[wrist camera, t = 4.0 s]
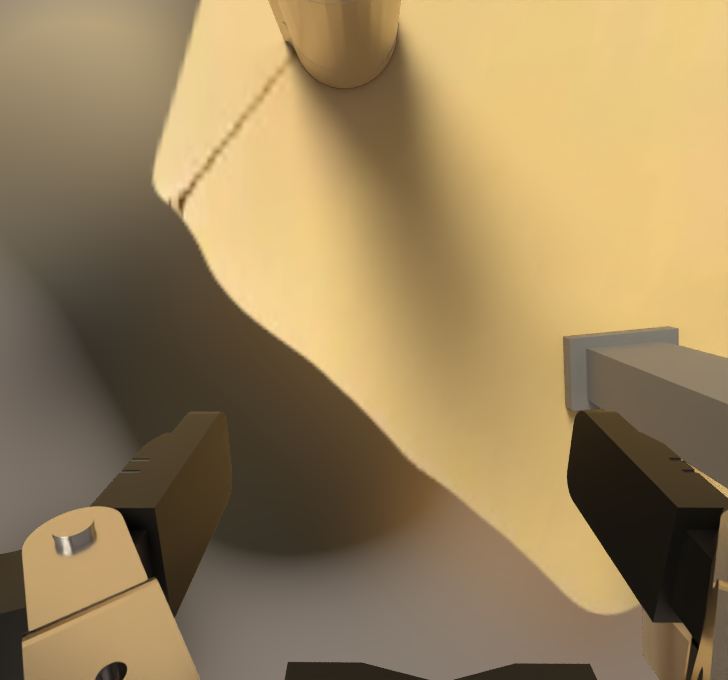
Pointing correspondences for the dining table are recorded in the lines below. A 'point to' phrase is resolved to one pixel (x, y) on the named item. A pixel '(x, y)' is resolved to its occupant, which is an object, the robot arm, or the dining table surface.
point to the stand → (655, 390)
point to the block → (665, 647)
